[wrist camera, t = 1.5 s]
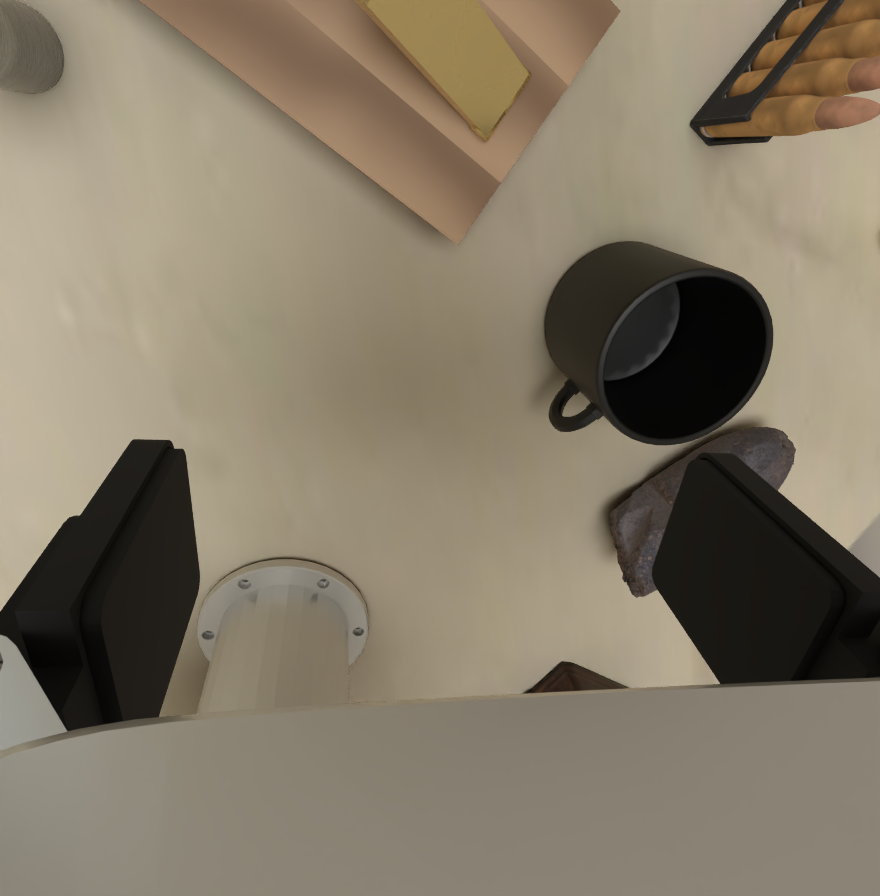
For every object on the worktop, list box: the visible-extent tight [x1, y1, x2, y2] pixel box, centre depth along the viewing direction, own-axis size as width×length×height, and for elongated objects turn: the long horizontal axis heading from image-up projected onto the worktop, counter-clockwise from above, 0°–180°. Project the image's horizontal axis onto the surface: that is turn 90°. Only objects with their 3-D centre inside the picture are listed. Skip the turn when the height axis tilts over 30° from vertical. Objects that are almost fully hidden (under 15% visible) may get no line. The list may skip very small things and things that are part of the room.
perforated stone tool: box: [609, 427, 796, 598], centre depth 41 cm, size 15×5×7 cm, turn 128°
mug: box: [545, 242, 773, 445], centre depth 34 cm, size 9×12×9 cm
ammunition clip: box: [690, 0, 880, 146], centre depth 26 cm, size 11×2×12 cm, turn 143°
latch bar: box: [355, 0, 532, 142], centre depth 23 cm, size 3×8×1 cm
